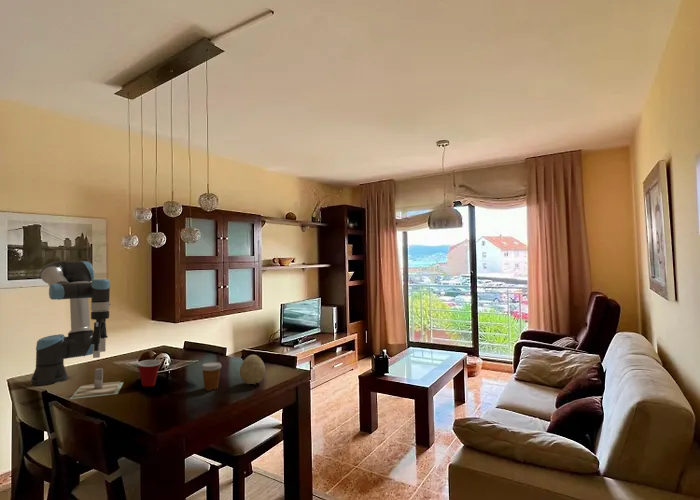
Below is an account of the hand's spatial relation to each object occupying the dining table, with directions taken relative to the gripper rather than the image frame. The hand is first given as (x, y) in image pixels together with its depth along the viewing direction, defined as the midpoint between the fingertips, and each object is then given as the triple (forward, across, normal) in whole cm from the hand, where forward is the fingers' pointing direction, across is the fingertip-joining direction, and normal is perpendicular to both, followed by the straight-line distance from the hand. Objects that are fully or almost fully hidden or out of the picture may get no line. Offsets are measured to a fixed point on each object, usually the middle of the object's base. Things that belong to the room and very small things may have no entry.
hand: (99, 354), depth 189 cm
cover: (+17, 0, 0) cm, 17 cm away
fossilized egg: (+18, -17, -71) cm, 75 cm away
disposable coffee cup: (+18, -16, -51) cm, 56 cm away
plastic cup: (+18, 0, -22) cm, 28 cm away
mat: (+18, 0, 0) cm, 18 cm away
